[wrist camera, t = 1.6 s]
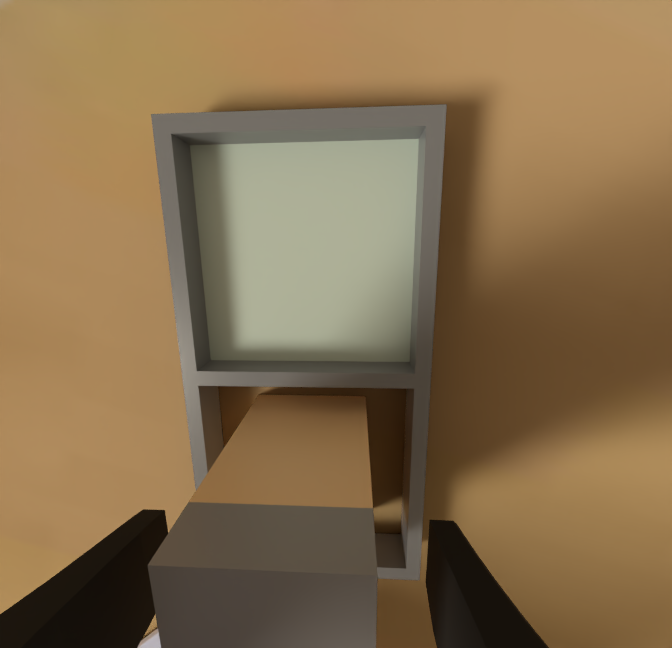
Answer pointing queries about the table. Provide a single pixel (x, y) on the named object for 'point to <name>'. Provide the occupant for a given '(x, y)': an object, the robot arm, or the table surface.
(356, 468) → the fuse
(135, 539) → the robot arm
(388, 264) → the gray divided rectangular frame
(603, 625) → the table surface
